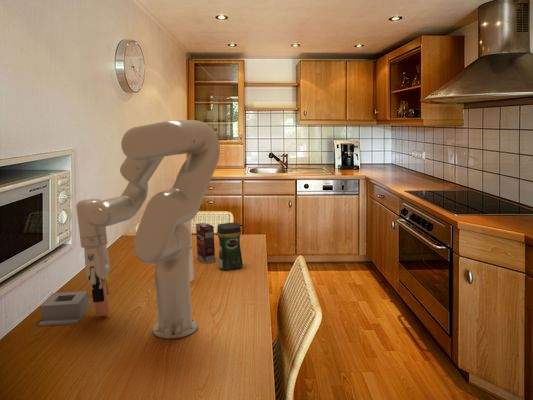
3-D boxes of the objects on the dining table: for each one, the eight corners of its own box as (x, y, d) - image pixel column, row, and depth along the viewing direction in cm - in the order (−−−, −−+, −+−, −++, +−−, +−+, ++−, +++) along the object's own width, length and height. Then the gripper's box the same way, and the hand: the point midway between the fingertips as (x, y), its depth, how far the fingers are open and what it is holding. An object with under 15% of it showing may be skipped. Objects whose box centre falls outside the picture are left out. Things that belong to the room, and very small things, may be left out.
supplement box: (196, 259, 203) (195, 223, 201) (206, 257, 206) (205, 222, 203) (205, 263, 196) (203, 227, 193) (215, 261, 198) (214, 225, 196)
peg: (107, 313, 141) (103, 275, 139) (93, 315, 140) (89, 276, 139) (110, 308, 145) (106, 271, 143) (97, 310, 144) (92, 272, 143)
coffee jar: (239, 263, 195) (237, 220, 192) (244, 268, 188) (243, 223, 185) (216, 266, 192) (214, 222, 189) (221, 271, 185) (219, 226, 182)
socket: (77, 323, 139) (75, 306, 138) (38, 326, 138) (37, 309, 137) (91, 303, 154) (89, 288, 154) (56, 305, 153) (55, 290, 152)
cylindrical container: (189, 283, 172) (186, 217, 168) (171, 282, 174) (167, 216, 170) (196, 277, 179) (193, 213, 175) (179, 276, 181) (175, 213, 177)
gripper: (100, 245, 131) (107, 307, 134) (112, 233, 148) (118, 288, 151) (72, 248, 131) (80, 310, 133) (88, 235, 147) (94, 291, 150)
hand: (100, 298), depth 142 cm, fingers closed on peg, 4 cm apart
